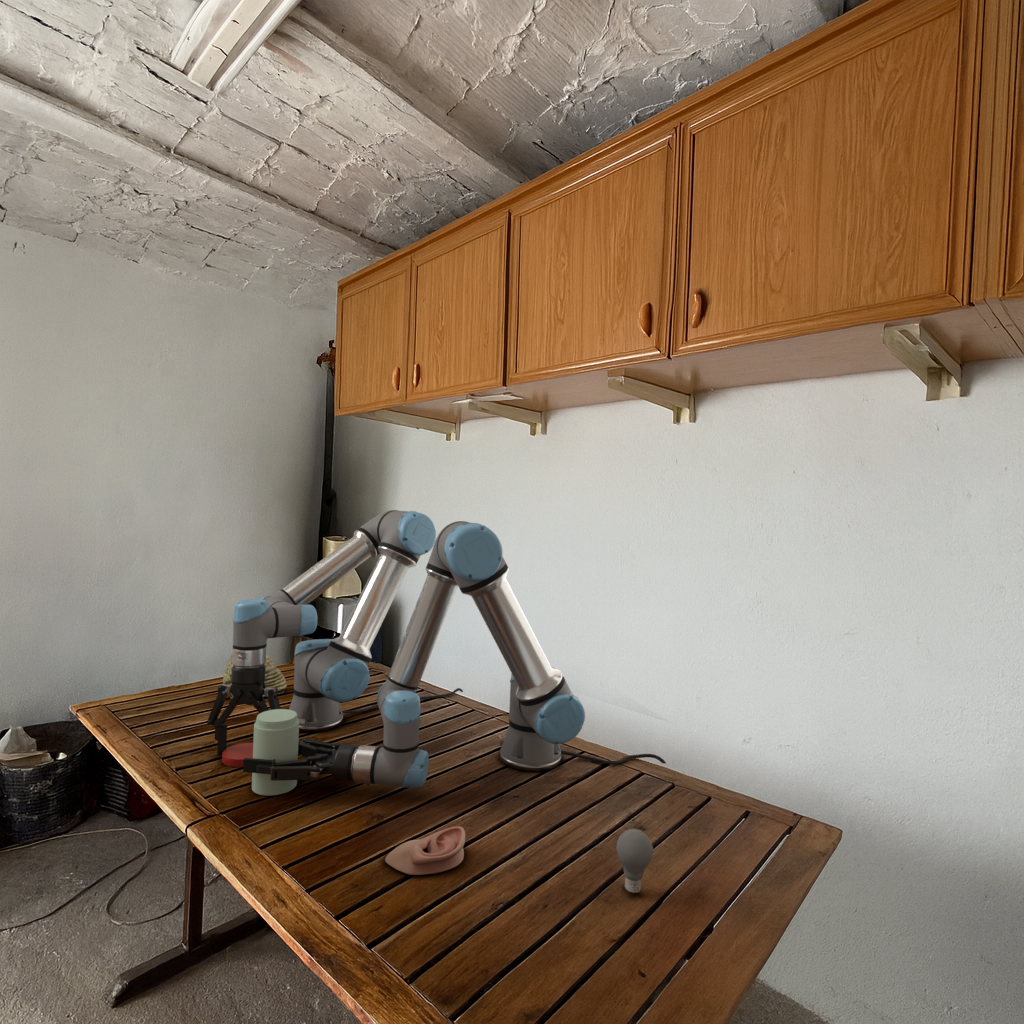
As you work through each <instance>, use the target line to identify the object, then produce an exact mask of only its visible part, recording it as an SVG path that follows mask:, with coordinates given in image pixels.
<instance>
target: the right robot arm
mask: <svg viewBox="0 0 1024 1024" xmlns="http://www.w3.org/2000/svg"><path fill="white" fill-rule="evenodd" d="M503 552H504V551H503V545H502V543H501V541H500V539H499V536H498V535H497V534H496V533H495V532H494V531H493V530H492V529H490V528H489V527H487V526H486V525H484V524H481V523H478V522H470V521H464V520H458V521H453V522H451V523H449V524H447V525H445V526H444V527H443V528H442V529H441V530H440V532H439V533H438V534H437V536H436V540H435V544H434V546H433V547H432V549H431V553H430V556H429V558H428V560H427V561H428V562H427V564H426V566H425V571H426V573H427V575H426V578H425V581H424V583H423V585H422V588H421V591H420V593H419V596H418V599H417V601H416V604H415V607H414V609H413V611H412V614H411V617H410V619H409V622H408V624H407V627H406V629H405V631H404V634H403V637H402V639H401V642H400V645H399V647H398V649H397V652H396V655H395V657H394V659H393V662H392V664H391V667H390V670H389V672H388V675H387V678H386V680H385V683H383V684H381V686H380V687H379V689H378V691H377V697H376V705H378V707H377V708H378V709H379V713H380V715H381V719H382V723H383V741H382V746H378V745H377V746H376V745H365V744H364V745H363V744H361V745H357V744H347V743H342V744H341V743H332V742H327V741H321V740H315V739H311V738H306V737H305V738H303V739H302V741H301V740H299V741H298V757H300V756H302V757H305V758H304V759H298V760H294V761H285V762H276V763H275V759H273V760H266V759H254V758H244V759H243V767H242V772H243V773H249V774H252V773H261V774H271V780H272V781H278V780H297V781H314V782H318V781H320V780H321V775H327V774H331V775H332V777H333V779H334V780H335V782H342V783H352V782H354V783H356V784H365V785H366V786H370V785H378V786H390V787H397V788H399V787H400V788H402V789H404V788H411V789H412V788H413V789H414V788H421V787H423V786H424V785H425V783H426V781H427V778H428V773H429V766H430V758H429V756H430V755H429V753H428V751H427V750H423V749H421V748H420V745H419V743H420V742H419V736H420V721H421V720H420V719H421V718H420V717H421V712H422V709H421V700H420V697H421V696H420V695H419V694H418V693H417V692H418V689H419V685H420V682H421V680H422V678H423V676H424V673H425V670H426V667H427V666H428V663H429V660H430V658H431V655H432V653H433V650H434V648H435V646H436V645H435V644H436V642H437V641H438V638H439V635H440V633H441V629H442V627H443V624H444V623H445V619H446V617H447V614H448V612H449V609H450V607H451V604H452V602H453V599H454V596H455V593H456V591H457V589H458V588H459V590H460V593H461V594H463V595H466V596H469V597H471V598H472V599H473V602H474V604H475V606H476V608H477V610H478V611H479V614H480V616H481V617H482V619H483V621H484V623H485V625H486V627H487V629H488V631H489V633H490V635H491V637H492V639H493V640H494V642H495V644H496V647H497V648H498V650H499V652H500V654H501V656H502V658H503V659H504V662H505V663H506V666H507V667H508V669H509V671H510V673H511V675H510V680H509V683H510V684H509V685H510V686H509V687H510V688H509V710H508V711H509V712H508V714H509V715H508V727H507V730H506V733H505V736H504V738H503V739H502V740H499V745H498V747H500V750H499V751H500V752H499V758H500V761H501V762H502V763H503V764H505V765H506V766H507V767H510V768H513V769H516V770H520V771H527V772H542V771H543V772H544V771H549V770H552V769H554V768H557V767H558V766H559V765H560V764H561V762H562V755H566V756H570V757H574V758H578V759H583V760H587V761H591V762H596V763H598V764H602V765H608V766H609V765H610V766H614V765H615V766H616V765H620V764H623V763H625V762H626V761H628V760H633V759H634V760H635V759H643V758H652V759H655V760H657V761H659V762H660V763H661V764H667V761H665V760H664V759H663V758H662V757H661V756H659V755H657V754H653V753H639V754H629V755H626V756H624V757H622V758H621V759H618V760H605V759H601V758H597V757H594V756H590V755H585V754H581V753H577V752H573V751H567V750H562V749H561V745H564V744H567V743H568V742H570V741H572V740H573V739H575V738H576V737H577V736H578V734H580V732H581V730H582V729H583V726H584V723H585V720H586V710H585V706H584V704H583V703H582V701H581V699H580V698H579V697H578V696H576V695H575V694H574V693H573V692H572V690H571V688H570V686H569V684H568V682H567V680H566V678H565V677H564V675H563V673H562V671H561V670H560V669H557V668H555V667H554V666H551V663H550V661H549V660H548V658H547V655H546V654H545V652H544V650H543V648H542V646H541V644H540V642H539V640H538V638H537V637H536V634H535V632H534V630H533V628H532V627H531V625H530V622H529V621H528V618H527V616H526V615H525V612H524V611H523V609H522V607H521V604H520V603H519V601H518V599H517V597H516V595H515V593H514V591H513V589H512V587H511V585H510V583H509V581H508V579H507V576H508V573H509V570H510V568H509V566H508V564H507V562H506V560H505V558H504V556H503V554H504V553H503Z"/></svg>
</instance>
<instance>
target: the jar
mask: <svg viewBox="0 0 1024 1024" xmlns="http://www.w3.org/2000/svg"><path fill="white" fill-rule="evenodd" d="M297 716H298V715H297V713H296V712H295V711H292V710H289V708H288V709H287V708H281V709H275V710H271V709H269V711H265V712H262V713H260V714H259V713H258V714H257V715H256V718H255V722H254V724H253V740H252V743H253V758H254V759H266V760H273V759H275V763H276V762H285V761H294V760H299V756H298V741H300V739H299V738H300V737H299V735H300V734H299V733H300V731H299V719H297V718H298V717H297ZM297 784H298V780H278V781H272V780H271V774H261V773H251V790H252V792H253V793H255V794H257V795H260V796H277V795H282V794H286V793H289V792H290V791H293V790H295V788H296V787H297Z"/></svg>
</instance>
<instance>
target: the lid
mask: <svg viewBox="0 0 1024 1024" xmlns="http://www.w3.org/2000/svg"><path fill="white" fill-rule="evenodd" d="M244 758H253V742H241V743H236V744H233V745H231V746H228V747H226V749H225V750H224V751H223V753H222V755H221V762H222V764H224V765H225V766H228V767H233V768H243V759H244Z"/></svg>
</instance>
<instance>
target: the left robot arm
mask: <svg viewBox="0 0 1024 1024" xmlns="http://www.w3.org/2000/svg"><path fill="white" fill-rule="evenodd" d="M436 538H437V530H436V527H435V525H434V522H433V520H432V519H431V518H430V517H429V516H428V515H426V514H425V513H422V512H418V511H416V510H407V511H406V510H397V509H391V510H387V511H383V512H381V513H380V514H377V515H376V516H374V517H373V518H371V519H370V520H368V521H367V522H366V523H364V524H363V525H361V526H360V527H359V528H357V529H355V531H354V532H353V536H352V537H351V538H349V539H348V540H347V541H346V542H344V543H343V544H341V545H340V546H338V547H337V548H336V549H334V550H333V551H332V552H330V553H329V554H327V555H326V556H325V557H324V558H322V559H321V560H319V561H318V562H317V563H315V564H314V565H312V566H311V567H310V568H309V569H307V570H306V571H304V572H303V573H302V574H300V575H299V576H298V577H296V578H295V579H293V580H292V581H291V582H289V583H288V584H287V585H285V586H284V587H283V588H281V589H280V590H278V591H276V592H275V593H274V594H273V595H266V596H265V595H264V596H262V597H260V598H247V599H240V600H238V601H237V602H236V603H235V604H234V610H233V618H232V622H233V623H232V625H233V626H232V650H231V651H232V652H231V655H232V664H233V665H234V666H233V667H232V672H231V681H232V684H231V685H228V684H227V683H224V684H223V683H222V684H220V685H219V686H217V696H216V698H215V701H214V703H213V706H212V708H211V711H210V713H209V716H208V718H207V720H206V724H207V725H212V726H213V727H214V740H215V741H217V747H216V748H217V749H216V756H217V757H222V753H223V751H224V750H225V749H226V748H227V744H228V724H226V721H228V719H229V717H230V716H231V715H232V713H233V712H234V710H235V709H236V708H237V706H238V705H240V706H241V705H246V706H253V708H254V709H256V711H257V713H258V715H259V714H260V713H262V712H265V711H269V710H275V709H282V707H281V703H280V700H279V696H278V695H279V694H278V688H277V687H274V688H266V687H265V684H264V682H265V670H266V666H265V665H264V663H265V662H266V654H267V645H268V643H267V641H268V639H277V638H287V637H297V636H298V637H299V636H300V637H302V636H306V635H312V634H313V633H314V632H315V631H316V629H317V626H318V613H317V609H316V607H315V606H314V605H313V604H310V603H311V602H313V601H314V600H315V599H317V598H318V597H319V596H321V595H322V594H323V593H325V591H327V590H328V589H330V588H331V587H333V586H334V585H335V584H336V583H338V582H340V580H342V579H343V578H345V576H347V575H349V574H350V573H351V572H352V571H353V570H355V569H356V568H357V567H359V566H360V565H362V564H363V563H364V562H366V561H367V560H368V559H369V558H370V559H371V558H372V559H375V558H376V557H378V556H379V557H378V559H377V560H376V563H375V564H374V567H373V568H372V570H371V572H370V575H369V577H368V579H367V581H366V583H365V585H364V587H363V589H362V591H361V593H360V594H359V597H358V598H357V601H356V603H355V605H354V607H353V608H352V611H351V613H350V615H349V617H348V619H347V621H346V623H345V625H344V627H343V629H342V631H341V633H340V635H339V636H338V637H337V636H336V637H335V638H323V639H322V638H319V639H307V640H303V641H299V642H297V644H296V645H295V650H294V655H293V656H294V672H293V695H292V696H293V697H292V699H291V702H290V704H289V708H288V710H292V711H295V712H296V713H297V715H298V716H297V717H298V718H297V719H299V732H301V733H316V732H325V731H329V730H332V729H335V728H337V727H339V726H340V725H342V723H343V722H344V715H345V714H360V713H365V712H368V711H371V710H374V709H377V708H379V707H378V705H377V704H375V705H372V706H369V707H366V708H363V709H356V710H352V709H351V710H343V709H342V706H341V703H350V702H351V701H354V700H355V699H358V698H359V697H360V696H361V695H362V694H363V693H364V692H365V691H366V689H367V688H368V685H369V683H370V679H371V678H370V677H371V676H370V670H369V665H370V663H371V661H372V658H373V656H372V654H371V647H372V645H373V644H374V640H375V639H376V637H377V635H378V633H379V631H380V628H381V627H382V624H383V622H384V620H385V618H386V616H387V614H388V612H389V610H390V608H391V606H392V604H393V602H394V599H395V598H396V595H397V593H398V591H399V589H400V587H401V585H402V583H403V581H404V578H405V577H406V574H407V572H408V570H409V569H411V568H414V567H416V566H417V565H418V562H419V560H420V558H421V556H423V555H426V554H427V553H429V552H430V551H432V550H433V547H434V544H435V541H436ZM229 691H230V692H231V693H232V695H233V696H234V697H233V698H230V701H229V702H228V704H227V706H226V707H225V708H224V710H223V712H222V713H221V711H222V709H223V707H224V704H225V702H226V700H227V696H228V694H230V692H229ZM457 692H460V693H463V692H464V690H463V689H462V688H460V687H457V688H456V689H454V690H453V691H452V692H449V693H443V694H435V695H427V696H419V697H420V701H421V700H428V699H429V700H430V699H438V698H444V697H450V696H453V695H454V694H456V693H457ZM264 693H265V694H266V696H265V697H266V698H267V702H268V705H269V707H268V705H267V703H266V699H265V698H264V697H263V694H264ZM269 708H270V709H269Z"/></svg>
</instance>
